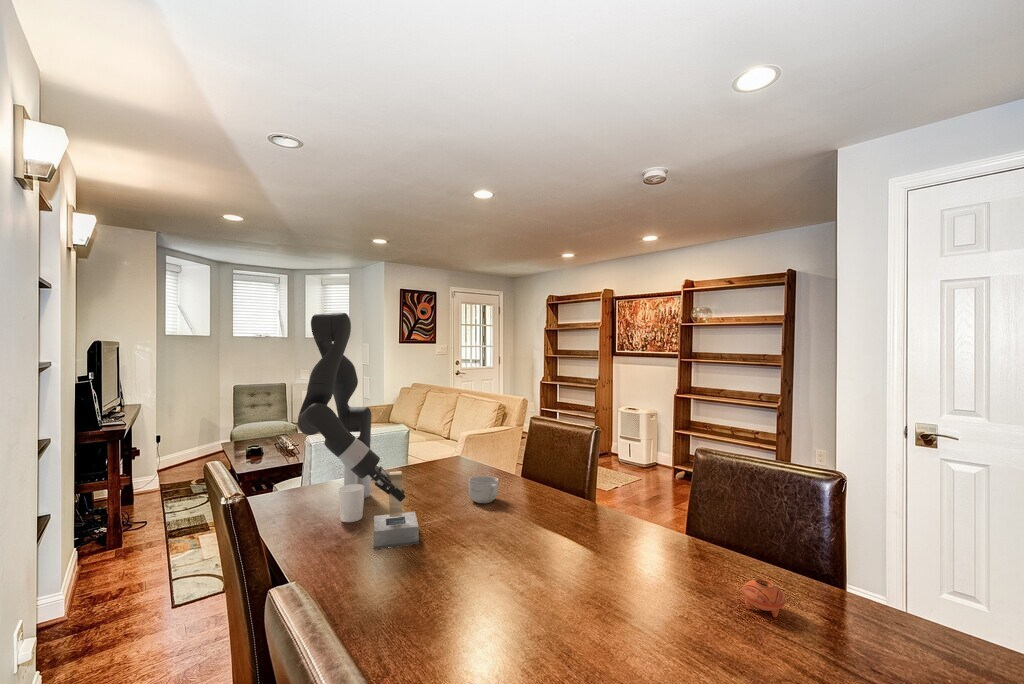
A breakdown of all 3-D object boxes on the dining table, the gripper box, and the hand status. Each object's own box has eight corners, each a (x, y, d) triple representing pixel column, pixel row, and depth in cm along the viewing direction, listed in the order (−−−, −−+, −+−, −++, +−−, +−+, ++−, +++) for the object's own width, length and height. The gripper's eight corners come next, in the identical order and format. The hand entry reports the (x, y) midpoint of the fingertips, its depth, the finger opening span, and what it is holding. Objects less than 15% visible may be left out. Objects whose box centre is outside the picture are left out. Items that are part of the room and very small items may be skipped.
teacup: (464, 498, 166) (464, 476, 166) (491, 494, 170) (491, 472, 170) (477, 510, 153) (477, 487, 153) (507, 505, 157) (507, 482, 158)
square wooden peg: (389, 513, 132) (389, 472, 132) (401, 512, 133) (401, 471, 133) (389, 517, 129) (389, 475, 129) (401, 516, 130) (401, 474, 130)
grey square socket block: (374, 532, 135) (374, 515, 135) (415, 527, 139) (414, 511, 139) (374, 549, 124) (374, 531, 124) (418, 544, 127) (418, 526, 127)
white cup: (368, 514, 150) (368, 484, 150) (357, 523, 142) (357, 491, 142) (345, 513, 151) (345, 483, 151) (334, 522, 143) (333, 491, 143)
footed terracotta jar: (742, 593, 101) (750, 565, 100) (782, 614, 96) (791, 585, 95) (734, 608, 94) (742, 578, 94) (775, 631, 90) (785, 601, 89)
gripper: (368, 453, 122) (414, 494, 126) (368, 443, 136) (410, 480, 139) (347, 474, 121) (394, 515, 124) (350, 462, 134) (392, 499, 138)
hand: (402, 496), depth 132 cm, fingers closed on square wooden peg, 3 cm apart
